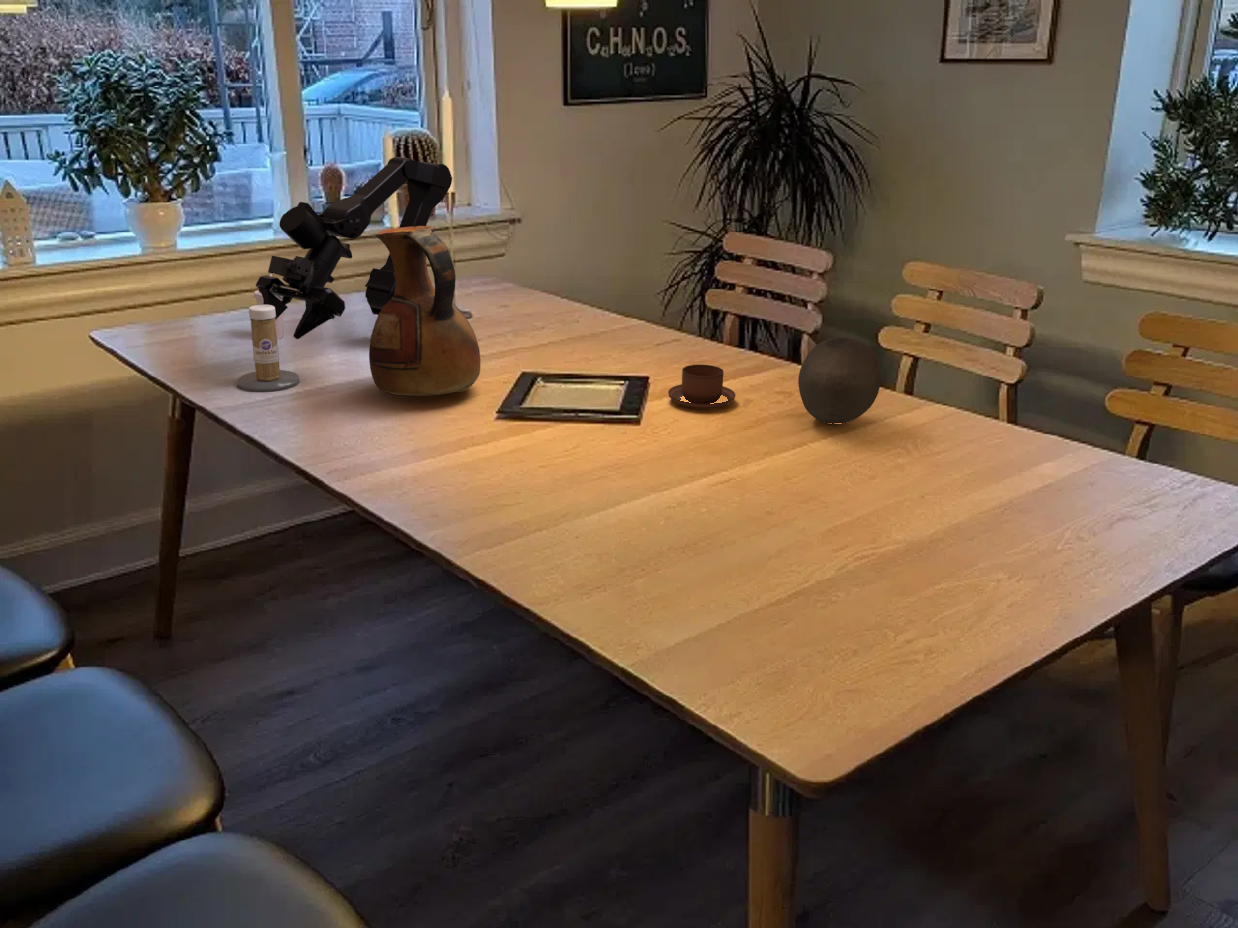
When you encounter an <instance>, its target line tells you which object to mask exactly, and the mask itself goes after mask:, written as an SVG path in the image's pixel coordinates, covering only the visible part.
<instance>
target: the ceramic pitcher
mask: <svg viewBox="0 0 1238 928" xmlns="http://www.w3.org/2000/svg"><path fill="white" fill-rule="evenodd" d="M435 231H436V226H435V225H434V226H432V225H426V226H416V227H403V228H399V227H393V228H387V229H382V230H380V231H378V232H377V233H376V234H375V238H377V239H379V240H380V241H381V242H382V243H383V244H384V246H385V247H386V248H387V251H388V252H389V253H390V255H391V258H392V262H393V267H394V271H395V277H396V287H395V293H394V296H393V297H392V298H391V299H390V300H389V301H388V302H387V303H386V304H385V306H384V307H383V308H382V310H381V312H380V313H379V315H377V317H376V319H375V322H374V325H373V329H372V331H371V334H370V335H371V336H370V340H369V349H368V360H369V361H368V362H369V368H370V373H371V377H372V379H373V383H374V385H375V386H376V388H377V389H379V390H381V391H384V392H386V393H390V394H393V395H398V396H411V397H413V396H417V397H426V396H427V397H428V396H438V395H446V394H451V393H455V392H456V393H461V392H465V391H467V390H468V389H470V388H471V387H472V386H473V385H474V384H475V382H476V381H477V380H478V378H479V376H480V374H481V352H480V346H479V343H478V340H477V336H476V333H475V331H474V328H473V327H472V326H471V323H470V322H469V320H468V318H467V317H466V315H465V314H464V312H463V311H462V310H461V309H460V308H459V306H457V305H456V304H455V303H454V297H455V289H456V280H457V278H456V268H455V266H454V262H453V259H452V256H451V253H450V250H449V248H448V246H447V244H446V242H444V240H442V238H441V237H440V236H439V235H438V233H436V232H435ZM389 253H388V254H389ZM427 260H428V262H429V265H430V268H431V271H432V275H433V280H434V281H433V282H434V285H433V283H432V280H431V277H430V274H429V270H428V264H427Z"/></svg>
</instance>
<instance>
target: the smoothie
mask: <svg viewBox="0 0 1238 928" xmlns="http://www.w3.org/2000/svg"><path fill="white" fill-rule="evenodd" d="M268 276H271V277H273V274H271V273H268ZM253 298H254V299H255V301H256V305H263V302H264V300H263V296H262V294H261V293H260V292H259V289H257V290H255V291H254V292H253ZM284 318H285V311H284V312H283V313H282V314H281V315H280V316H279V317H278V318H277V319H276V320H275V324H276V333H277V340H278V339H282V338H283V337H284Z"/></svg>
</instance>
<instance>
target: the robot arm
mask: <svg viewBox="0 0 1238 928" xmlns="http://www.w3.org/2000/svg"><path fill="white" fill-rule="evenodd" d="M406 182H407V183H406ZM405 183H406V189H407V194H408V195H407V196H408V202H407V205H406V208H405V210H404V213H403V216H402V219H401V221H400V224H399V227H398V228H403V227H416V226H428V225H427V224H428V222H429V219H430V216H431V213H432V211H433V209H434V208H435V207H436V206H437V205H438V204H439V203H441V202H442V201H443V200H445V198H446V196H447V193H448V192H449V189H450V188H451V187H452V183H453V176H452V173H451V171H450V169H449V167H448V166H447V164H446V165H445V164H444V163H434V162H428V161H427V162H426V161H417V160H413V159H411V158H410V157H409V158H408V157H402V156H401V157H400V156H395V157H392V158H390V159H389V160H388V162H387V164H386V165H385V166H384V167H383V168H382V169H381V170H379V171H378V172H377V173H376V174H374V176H372V177H371V178H370V180H368V181H367V182H366V183H364V185H362V187H360V188H359V189H358V190H356V192H355V193H354V194H352V195H350V196H348V197H345V198H341V199H338V200H337V201H335V202H334V203H332V204H330V205H328V206H327V207H325V209H324V211H323V212H321V213H319V214H318V213H317V211H315V210H314V208H313V207H312V206H311V205H310V204H309V203H308V202H306V201H305V202H304V201H299V203H298V204H297V206H294V207H292V208H290V209H288V210H287V211H286V212H285V213H283V214H282V216H281V217H280V221H279V228H280V229H281V231H283V232H284V233H285V235H287V236H288V237H289V238H290V239H291V240H292V241H293V242H294V243H295V244H296V245H297V246H298V247H299V248H300V249H302V250H307V251H306V253H305V256H304V257H303V256H298V255H296V256H294V258H293V259H292V258H287V257H281V256H276V255H271V258H270V262H269V265H268V270H267V273H268V274H269V273H271V274H272V275H273V274H274V275H275V274H276V275H278V276H281V277H282V280H283V281H282V280H281V279H280V278H279V277H276V276H272V277H271V276H269V275H262V276H260V277H259V278H258V280H257V282H256V284H255V287H256V288H257V289H258V290H259V292H260V293H261V294H262V296H263V300H264V302H263V305H272V306H274V307H275V313H276V317H275V320H276V319H277V318H278V317H279V316H280V315H281V314H282V313H283V312H284V313H285V311H286V310H287V309H288V304H289V303H291V301H292V300H293V299H295V300H299V301H303V302H304V303H305V310H304V312H303V314H302V316H301V317H300V320H299V322H298V324H297V326H296V327H295V330H294V333H293V336H292V337H293V338H295V339H296V340H300V339H301V338H302V337H305V335H307V334H309V333H310V332H311V331H313V330H314V329H316V328H318V327H320V326H321V325H323V324H325V323H327V322H329V321H330V320H334V319H335V318H336V317H339V318H341V317H342V315H343V313H344V312H345V309H346V302H345V300H343V298H341V297H340V296H339V295H338V294H337V293H336V292H335V291H334V290H332V288H329V287H326V284H327V283H329V284H333V282H334V280H335V278H334V277H333V276H332V273H333V272H334V270H335V269H336V267H337V265H338V263H339V262H340V260H341V258H345V259H352V258H353V254H352V250H351V244H350V243H348V242H347V243H346V242H342V241H341V240H340V239H339V238H344V239H349V240H350V239H351V240H356V239H358V238H360V237H361V236H362V234H363V233H364V232H365V231H366V230H367V228H368V226H369V225H370V224H371V220H372V216H373V214H374V213H375V211H377V210H378V208H380V207H381V206H382V205H383V204H384V203H385V202H386V201H387V200H388V199H389V198H391V196H392V195H393V194H395V193H396V192H397V191H398V190H399V189H400V188H402V186H404V184H405ZM284 282H285V283H284ZM286 283H287V284H288V286H287V284H286ZM364 287H365V288H366V289H365V294H364V295H365V298H366V301H367V303H368V305H369V308H370V310H371V313H372V315H377V316H378V315H379V313H380V312H381V310H382V308H383V307H384V306H385V304H386V303H387V302H388V301H389V300H390V299H391V298H392V297H393V296H394V293H395V287H396V277H395V271H394V267H393V262H392V258H391V255H390V253H388V257H387V259H386V262H385V264H384V265H383V266H382V267H380V268H375V267H374V268H372V269H371V270H370V273H369V278H368V281H366V283H365V285H364Z"/></svg>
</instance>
